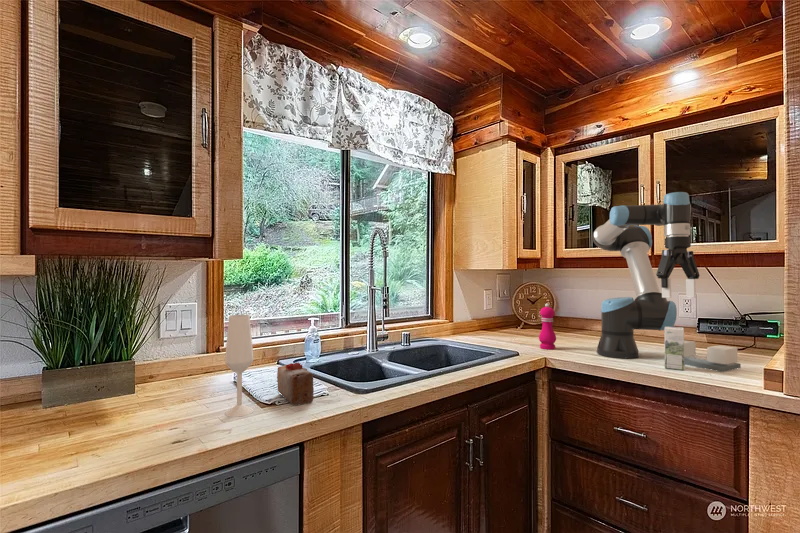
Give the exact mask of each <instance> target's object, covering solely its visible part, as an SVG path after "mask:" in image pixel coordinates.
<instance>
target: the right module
mask: <svg viewBox="0 0 800 533" xmlns="http://www.w3.org/2000/svg"><path fill="white" fill-rule="evenodd" d="M706 350H707V351H706V353H707V354H706V357H707V361H709V362H715V363H720V364H730V363H739V362H738V359H739V358H738V357H739V356H738V347H734V346H728V345H720V344H719V345H714V346H708V347H707V349H706Z"/></svg>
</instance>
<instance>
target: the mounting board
mask: <svg viewBox="0 0 800 533" xmlns="http://www.w3.org/2000/svg"><path fill="white" fill-rule="evenodd" d="M685 365H686V366H691V367H695V368H700V369H705V368H706V369H707V370H710V369H712V371H716V370H717V372H723V373H724V372H727V371H728V372H729V371H731V370H732V369H733V370H736V369H737V368H738V369H741V363H739V362H735V365H731V366H723V365H718V364H712V363H707V362H701V361H696V360H690V359H685V358H684V366H685ZM738 369H737V370H738Z"/></svg>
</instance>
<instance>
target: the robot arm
mask: <svg viewBox="0 0 800 533" xmlns="http://www.w3.org/2000/svg"><path fill="white" fill-rule="evenodd" d="M690 205H691V201H690V194H689V193H688V192H685V191H677V192H676V191H675V192H669V193H666V194H664V196H663V201H662V204H661V203H660V204H638V205H637V204H633V205H630V204H629V205H628V204H627V205H623V204H622V205H615V206H613V207H611V209H610V211H609V219H608V220H607V221H606V222H605V223H604V224H602V225H599V226H598V227H596V229H595V230H594V231H593V233H592V241H593V243H594V244H595V246H596V247H598V248H599V249H601V250H604V251H606V252H607V251H609V252H620V255H621V256H622V257H623V258H624V259H625V260H626V263H627V267H628V271H629V273H630V274H629V275H630V277H631V281H632V285H633V288H634V292H635V295H636V297H635V298H633V297H631V296H625V297H612V298H607V299H603V300H602V302H601V309H600V313H601V318H600V320H601V335H600V339H599V340H598V344H597V348H596V353H597V355H599V356H604V357H608V358H616V359H636V358H639V357H640V351H639V349H638V346H637V342H636V339H635V337H634V333H635V332H634V330H641V331H642V330H643V331H645V330H646V331H651V330H652V331H659V332H660V331H665V326H668V327H675V325H676V324H675V323H676V321H677V316H678V315H677V311H678V310H677V305H676V303H675V302H674V301H673V300H668V299H670V298H672V279H671V278H670V276H671V274H672V272H673V271H674V268H675V267H676V265H677V264H678V265H679V266H680V267H681V269H682V271H683V272H684V274H685V277H687V278H686V279H685V296H686V298H696V297H697V294H696V280H698V279H699V278H700V272H699V269H698V265H697V262H696V260H695V257H694V255H695V254H694V251H693V250H688V249H689V248H691V246H692V242H691V240H692V239H691V237H690V235H691V215H690V214H691V208H690V207H691V206H690ZM651 225H652V226H653V225H654V226H658V227H660V226H664V228H663V230H664V231H663V232H664V235H663V236H664V237H665V238H664V248H665V249H662V250H661V258H660V261H659V264H658V267H657V270H656V274H655V273H654V270H653V267H652V265H651V260H650V258H649V254H648V253H649V251H650V250H651V248H652V245H653V239H652V237H653V236H652V233H651V231H650V229H649V228H648V227H647V226H651ZM655 275H656V276H655ZM656 277H657V278H658V279H661V280H660V282H661V285H660V286H661V291H660V289H659V285H658V282H657V280H656Z"/></svg>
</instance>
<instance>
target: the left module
mask: <svg viewBox="0 0 800 533" xmlns="http://www.w3.org/2000/svg"><path fill="white" fill-rule="evenodd" d="M696 346H697V345H696V341H692V340H686V339H684V357H686V356H692V355H695V356H697V355H696V354H697V353H696V351H697V350H696Z"/></svg>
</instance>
